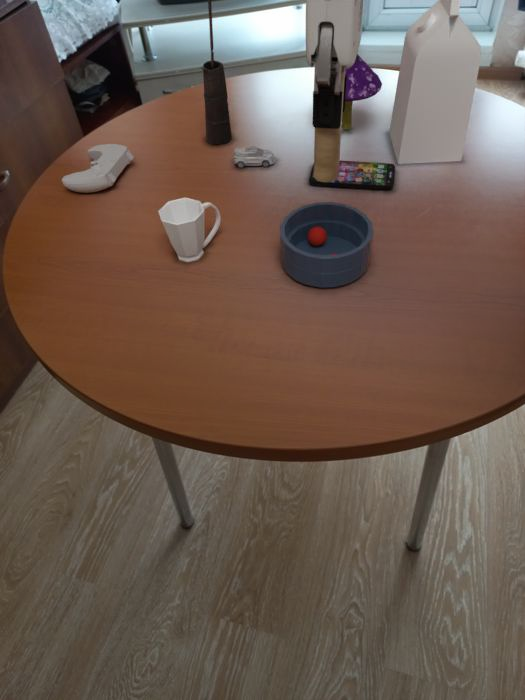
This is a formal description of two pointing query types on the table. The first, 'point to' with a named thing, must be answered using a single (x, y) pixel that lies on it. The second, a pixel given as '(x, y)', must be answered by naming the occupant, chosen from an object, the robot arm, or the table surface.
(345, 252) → the bowl
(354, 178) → the smartphone
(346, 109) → the decorative mushroom
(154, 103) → the table surface
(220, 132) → the butter churn
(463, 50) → the milk
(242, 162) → the toy car
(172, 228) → the cup
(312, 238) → the ball
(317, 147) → the stick
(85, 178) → the game controller
